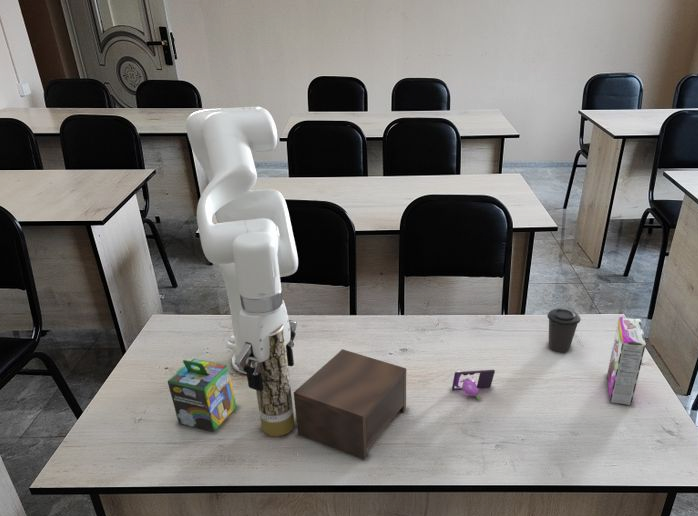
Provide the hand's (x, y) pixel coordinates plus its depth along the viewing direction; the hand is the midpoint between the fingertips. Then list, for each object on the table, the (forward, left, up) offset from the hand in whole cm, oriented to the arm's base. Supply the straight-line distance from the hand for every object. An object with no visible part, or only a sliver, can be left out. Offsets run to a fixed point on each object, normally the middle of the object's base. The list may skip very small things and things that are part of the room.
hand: (272, 376), depth 120 cm
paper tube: (0, 0, -14) cm, 14 cm away
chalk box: (-16, -4, -14) cm, 22 cm away
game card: (+32, +30, -14) cm, 46 cm away
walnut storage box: (+13, +9, -14) cm, 21 cm away
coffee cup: (+44, +59, -14) cm, 75 cm away
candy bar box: (+61, +47, -14) cm, 78 cm away
